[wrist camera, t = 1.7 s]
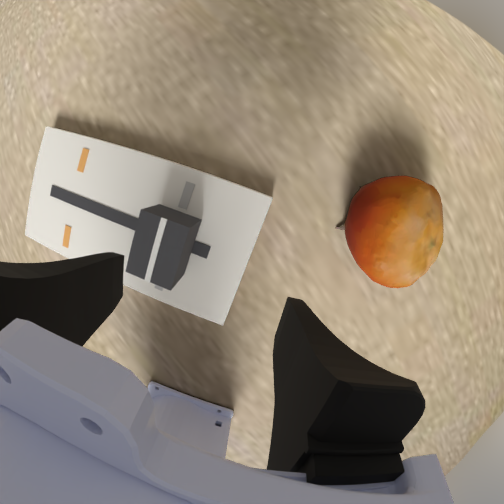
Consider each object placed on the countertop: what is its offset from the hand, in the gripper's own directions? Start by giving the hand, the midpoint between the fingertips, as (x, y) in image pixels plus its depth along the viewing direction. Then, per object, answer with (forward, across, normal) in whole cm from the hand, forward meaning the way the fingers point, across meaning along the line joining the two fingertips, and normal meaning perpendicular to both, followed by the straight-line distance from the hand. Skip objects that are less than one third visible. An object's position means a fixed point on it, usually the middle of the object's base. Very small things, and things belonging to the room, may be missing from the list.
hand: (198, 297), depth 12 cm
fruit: (+12, -11, -4) cm, 17 cm away
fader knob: (+10, +4, +1) cm, 11 cm away
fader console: (+12, +9, +1) cm, 15 cm away
